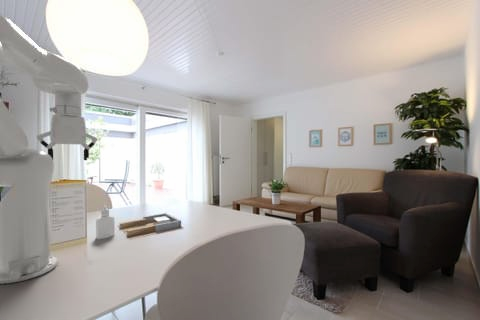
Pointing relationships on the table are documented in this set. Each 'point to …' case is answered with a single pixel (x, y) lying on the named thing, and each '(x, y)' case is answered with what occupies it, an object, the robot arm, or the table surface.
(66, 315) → the table surface
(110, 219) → the eye dropper bottle
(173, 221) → the grey tray
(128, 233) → the slotted board
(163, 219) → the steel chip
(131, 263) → the table surface
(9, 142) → the robot arm
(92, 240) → the table surface
